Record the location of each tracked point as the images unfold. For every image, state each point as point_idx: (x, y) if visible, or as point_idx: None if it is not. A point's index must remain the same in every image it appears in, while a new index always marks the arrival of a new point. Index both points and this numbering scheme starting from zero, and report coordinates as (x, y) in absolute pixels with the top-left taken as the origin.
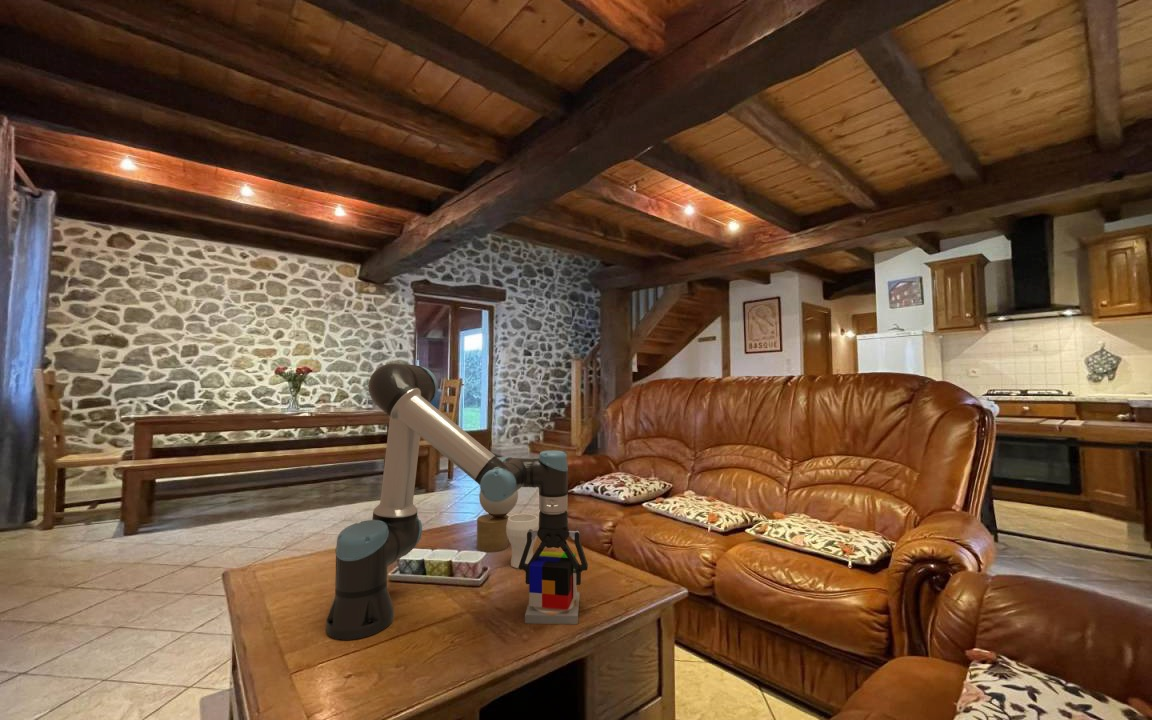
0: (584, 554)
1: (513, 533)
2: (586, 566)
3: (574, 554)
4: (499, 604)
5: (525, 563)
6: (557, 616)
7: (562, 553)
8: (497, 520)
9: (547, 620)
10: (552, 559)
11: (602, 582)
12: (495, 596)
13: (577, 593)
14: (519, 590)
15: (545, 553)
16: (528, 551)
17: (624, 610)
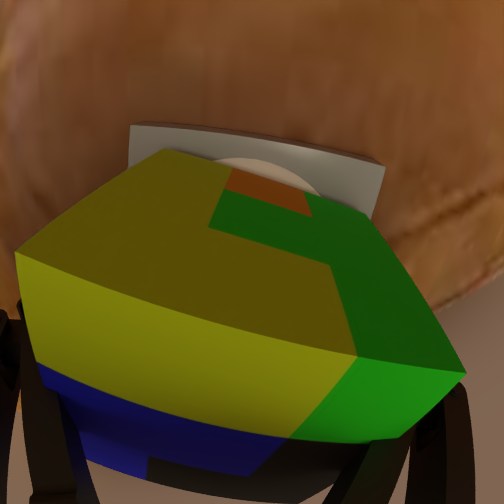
0: (471, 450)
1: None
2: (431, 432)
3: (446, 389)
4: (36, 169)
5: (11, 342)
6: None
7: (335, 369)
8: None
9: None
10: (201, 451)
11: (488, 32)
12: (16, 105)
13: (373, 180)
14: (90, 39)
15: (96, 336)
16: (4, 453)
17: (481, 271)
